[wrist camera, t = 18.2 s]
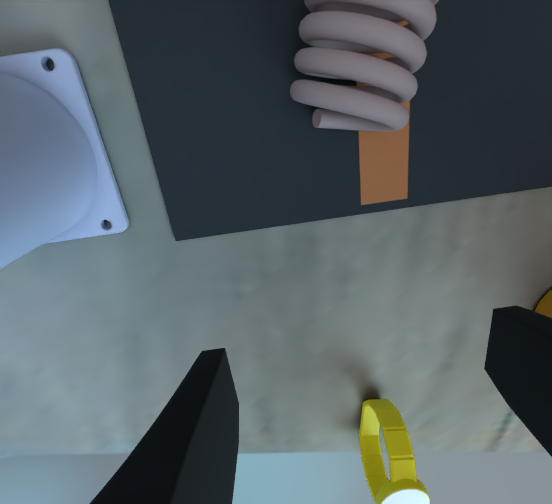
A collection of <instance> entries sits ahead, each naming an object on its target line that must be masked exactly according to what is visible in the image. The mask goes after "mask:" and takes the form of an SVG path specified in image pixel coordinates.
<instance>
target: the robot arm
mask: <svg viewBox="0 0 552 504" xmlns="http://www.w3.org/2000/svg"><path fill="white" fill-rule="evenodd" d="M50 58H51V59H52V60H53V62H54V65H55V67H54V69H53V70H52V71H50V70H49V68H48V67H47V61H48V59H50ZM104 220H108V221H110V223H111V224H112V227H107V226H106V225H105V224H104ZM128 225H129V219H128V216H127V213H126V210H125V207H124V204H123V201H122V198H121V195H120V192H119V189H118V186H117V183H116V180H115V177H114V174H113V171H112V168H111V165H110V162H109V159H108V156H107V153H106V150H105V147H104V144H103V141H102V138H101V135H100V132H99V129H98V126H97V123H96V120H95V117H94V114H93V111H92V108H91V105H90V102H89V99H88V96H87V93H86V90H85V87H84V84H83V81H82V78H81V75H80V72H79V69H78V66H77V63H76V60H75V58H74V56H73V55H72V54H71V53H70V52H68V51H66V50H63V49H60V48H53V49H47V50H40V51H34V52H27V53H20V54H14V55H7V56H0V269H1V268H3V267H5V266H6V265H8V264H10V263H11V262H13V261H15V260H17V259H18V258H20V257H22V256H23V255H25V254H27V253H28V252H30V251H32V250H33V249H35V248H37V247H38V246H40V245H42V244H45V243H52V242H59V241H66V240H73V239H79V238H86V237H93V236H100V235H107V234H114V233H120V232H123V231H124V230H125V229H126V228H127V227H128ZM484 369H485V370H486V372H487V374H488V375H489V377H490V378H491V380H492V381H493V383H494V385H495V386H496V388H497V389H498V391H499V392H500V394H501V395H502V396H503V398H504V399H505V401H506V402H507V404H508V405H509V406H510V408H511V409H512V410H513V411H514V413H515V414H516V415H517V416H518V417H519V419H520V420H521V421H522V422H523V423H524V425H525V426H526V427H527V428H528V429H529V431H530V432H531V433H532V434H533V435H534V437H535V438H536V439H537V440H538V441H539V442H540V444H541V445H542V446H543V447H544V448H545V449H546V451H547V452H548V453H549V454H550V455H551V456H552V318H550V317H547V316H545V315H542V314H539V313H537V312H534V311H531V310H528V309H525V308H522V307H519V306H511V307H504V308H497V309H493V315H492V322H491V328H490V335H489V341H488V348H487V354H486V361H485V368H484ZM238 444H239V402H238V398H237V394H236V390H235V386H234V382H233V378H232V374H231V370H230V366H229V362H228V358H227V354H226V350H225V348H220V349H213V350H206V351H202V352H201V353H200V355H199V356H198V358H197V359H196V361H195V362H194V364H193V365H192V367H191V369H190V370H189V372H188V373H187V375H186V376H185V378H184V379H183V381H182V382H181V384H180V385H179V387H178V388H177V390H176V392H175V393H174V395H173V396H172V397H171V399H170V400H169V402H168V403H167V405H166V406H165V408H164V409H163V410H162V412H161V413H160V415H159V416H158V418H157V419H156V420H155V422H154V423H153V425H152V426H151V427H150V429H149V430H148V431H147V433H146V434H145V435H144V437H143V438H142V439H141V441H140V442H139V443H138V445H137V446H136V447H135V449H134V450H133V451H132V453H131V454H130V455H129V456H128V458H127V459H126V460H125V462H124V463H123V464H122V466H121V467H120V468H119V469H118V470H117V472H116V473H115V474H114V475H113V477H112V478H111V479H110V480H109V481H108V483H107V484H106V485H105V486H104V487H103V489H102V490H101V491H100V492H99V494H98V495H97V496H96V497H95V498H94V499H93V500H92V502H91V503H90V504H232V499H233V490H234V481H235V472H236V463H237V454H238Z"/></svg>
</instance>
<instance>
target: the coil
mask: <svg viewBox="0 0 552 504" xmlns="http://www.w3.org/2000/svg"><path fill="white" fill-rule="evenodd" d="M438 1H439V0H304V3H305V5H306V7H307V8H308V10H309V11H310V12H311V14H308V15H306V17H305V18H304V19H303V20H302V21H301V22H300V25H299V35H300V37H301V39H302V40H303V41H304V42H305V43H307V44H309V45H311V46H314V47H309V48H304V49H301V50H300V51H299V52H298V53H297V54H296V56H295V59H294V63H295V67H296V69H297V70H298V71H299V72H301V73H304V74H307V75H311V76H317V77H324V78H332V79H344V80H353V81H357V82H361V83H365V84H368V85H372V86H346V85H334V84H329V83H324V82H318V81H312V80H303V79H301V80H296V81H295V82H294V83H293V84H292V85H291V88H290V95H291V97H292V98H293V100H295V101H297V102H300V103H303V104H307V105H311V106H316V107H320V108H324V109H316V110H315V111H314V113H313V117H312V123H313V126H314V127H315V128H328V129H343V130H359V131H378V132H391V131H397V130H400V129H402V128H404V127H405V126H406V125H407V123H408V120H409V113H408V111H407V109H406V108H405V107H403V106H402V105H401V104H402V103H405V102H407V101H409V100H411V99H412V98H413V96H414V95H415V94H416V91H417V87H418V85H417V80H416V78H415V77H414V76H413V75H412V74H413V73H415V72H416V71H418V70H419V68H420V67H421V66H422V65H423V64H424V62H425V59H426V55H427V51H426V47H425V43H424V42H423V41H424V40H425V39H426V38H427V37H428V36H429V35H430V34H431V33H432V31H433V30H434V27H435V23H436V19H437V17H436V11H435V7H434V5H435V4H436V3H437V2H438ZM401 21H407V22H408V23H409V24H407V25H405V26H401V25H399V24H397V22H401ZM362 53H389V54H391V55H393V56H395V57H391V58H383V59H380V58H377V57H374V56H370V55H366V54H362ZM325 109H329V110H325Z"/></svg>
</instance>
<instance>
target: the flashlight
mask: <svg viewBox="0 0 552 504" xmlns="http://www.w3.org/2000/svg"><path fill="white" fill-rule="evenodd" d="M534 312H537V313H539V314H542V315H545V316H547V317H550V318H552V289H551V290H550V291H549V292H548V293H547V294H546V295H545V296H544V297H543V298H542V299H541V300H540V301H539V303H538V305H537V307H536V309H535V311H534Z"/></svg>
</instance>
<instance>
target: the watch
mask: <svg viewBox="0 0 552 504" xmlns="http://www.w3.org/2000/svg"><path fill="white" fill-rule="evenodd" d="M362 404H363V406H362V414H361V423H360V431H359V432H358V433H359V441H360V450H361V455H362V457H361V458H362V462H363V467H364V472H365V476H366V478H367V483H368V486H369V489H370V491H371V494H372V497H373V498H374V501H375V503H376V504H429V503H430V498H429V495H428V493H427V491H426V489H425V487H424V485H423V483H422V482H420V481H419V480H418V479H417V475H416V466H415V459H414V458H413V456H414V453H413V449H412V446H411V442H410V438H409V435H408V431H407V430H406V426H405V424H404V422H403V420H402V417H401V415H400V413H399V411H398V410H397V408H396V407H395V406H394V405H393V404H392V403H391V402H390V401H389V400H388V399H372V400H367V401H364V402H363V403H362ZM380 426H381V429H382V431H383V435H384V440H385V444H386V449H387V453H388V457H389V469H390V480H388V478H387V475H386V471H385V467H384V463H383V459H382V456H381V449H380V441H379V428H380Z"/></svg>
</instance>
